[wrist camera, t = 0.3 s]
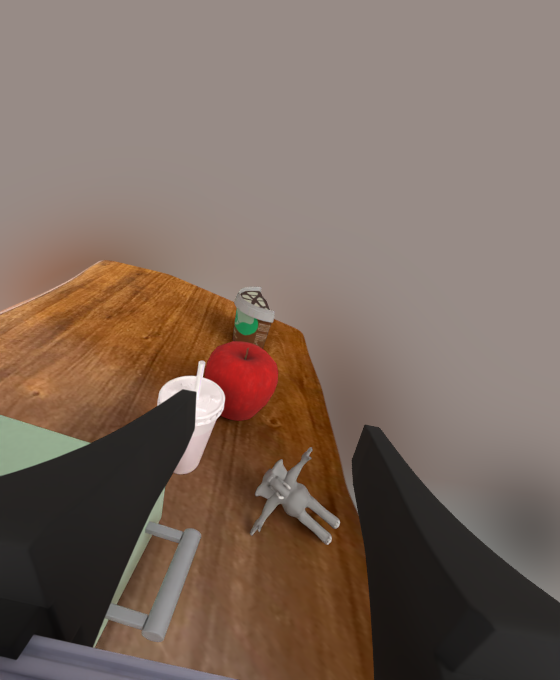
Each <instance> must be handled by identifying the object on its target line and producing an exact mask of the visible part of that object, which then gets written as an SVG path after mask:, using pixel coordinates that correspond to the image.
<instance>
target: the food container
mask: <svg viewBox="0 0 560 680" xmlns="http://www.w3.org/2000/svg"><path fill="white" fill-rule="evenodd" d="M234 303H235V305H236V307H237V310H236V318H235V325H234V333H233V341H242V342H248V343H252V344H254V345H257V346H259V347H261V348H262V349H263V346H264V343H265V340H266V337H267V334H268V331H269V328H270V325H271V322H272V323H273V319H274V313H275V311H271V310H270V309H269V307H268V304H267V301H266V300H265V299H264V298H263V297H262V294H261V287H246V288H243V289H241V290H240V292H239V293H238V294H237V296H236V298H235V301H234Z"/></svg>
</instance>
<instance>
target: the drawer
mask: <svg viewBox="0 0 560 680" xmlns="http://www.w3.org/2000/svg"><path fill="white" fill-rule="evenodd" d="M164 492H165V488H164V489H163V491H162V493H161V495H160V496H159V498H158V500H157V502H156V503H155V505H154V507H153V509H152V511H151V513H150V515H149V517H148V520H147V522H146V524H145V526H144V528H143V530H142V533H141V535H140V537H139V539H138V541H137V544H136V546H135V548H134V550H133V553H132V555H131V557H130V559H129V562H128V564H127V566H126V568H125V571H124V573H123V575H122V578H121V580H120V583H119V585H118V587H117V590H116V592H115V594H114V597H113V599H112V601H111V604H110V606H109V609H108V611H107V614H106V616H105V619H104V621H103V624H102V626H101V629H100V631H99V634H98V636H97V639H96V641H95V644H94V646H93V648H94V647H95V645H96V644H97V642H98V640H99V638H100V636H101V634H102V632H103V630H104V628H105V626H106V624H107V622H108V620H111V621H115V622H118V623H121V624H124V625H127V626H131V627H134V628H137V629H140V630H142V635H143V636H144V637H145V638H146V639H148V640H151V641H155V642H161V641H163V640H164V637H165V634H166V632H167V629H168V626H169V623H170V621H171V618H172V615H173V612H174V610H175V607H176V604H177V601H178V599H179V596H180V593H181V590H182V588H183V585H184V582H185V579H186V577H187V574H188V571H189V568H190V566H191V563H192V560H193V557H194V555H195V552H196V549H197V547H198V544H199V541H200V538H201V534H200V533H199V532H198V531H197V530H195V529H190V528H189V529H186V530H185V531H184V533H183V532H182V531H179V530H176V529H173V528H170V527H166V526H163V525H160V524H158V522H159V521H160V519H161V515H162V507H163V500H164ZM152 535H154V536H157V537H161V538H164V539H167V540H170V541H173V542H176V543H179V545H178V547H177V550H176V552H175V554H174V557H173V559H172V561H171V564H170V566H169V568H168V571H167V573H166V576H165V578H164V580H163V583H162V585H161V587H160V590H159V592H158V595H157V597H156V599H155V602H154V604H153V606H152V609H151V611H150V614H149V616H148V614H144V613H141V612H138V611H135V610H132V609H128V608H125V607H122V606H119V605H116V604H117V603H118V601H119V599H120V597H121V595H122V593H123V591H124V589H125V587H126V585H127V583H128V581H129V579H130V577H131V575H132V573H133V571H134V569H135V567H136V565H137V563H138V562H139V560H140V558H141V556H142V554H143V552H144V550H145V548H146V546H147V544H148V542H149V540H150V538H151V536H152Z"/></svg>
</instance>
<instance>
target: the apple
mask: <svg viewBox="0 0 560 680" xmlns="http://www.w3.org/2000/svg"><path fill="white" fill-rule="evenodd" d="M205 378H206V379H209V380H211V381H213V382H215V383H216V384H217V385H218V386H219V387H220V388H221V389H222V390H223V392H224V395H225V403H224V410H223V412H222V413H221V415H220V416H222V417H224V418H227V419H229V420H237V421H242V420H247V419H250V418H251V417H253V416H254V415H255V414H256V413H257V412H258V411H260V410H261V409H262V408H263V407H264V406H265V405H266V404H267V403H268V401H269V399H270V398H271V396H272V394H273V393H274V391H275V388H276V385H277V383H278V369H277V364H276V363H275V361H274V360H273V359H272V358H271V357H270V355H269V354H268V353H267V352H266V351H265V350H263V349H262V348H261V347H259V346H257V345H254V344H252V343H248V342H242V341H232V342H229V343H227V344H224V345H221V346H218V347H217V348H216V349H215V350H214V351H213V352H212V354H211V356H210V358H209V360H208V362H207V365H206V369H205Z"/></svg>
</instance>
